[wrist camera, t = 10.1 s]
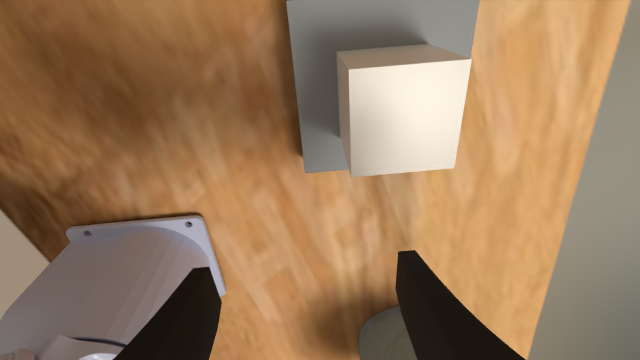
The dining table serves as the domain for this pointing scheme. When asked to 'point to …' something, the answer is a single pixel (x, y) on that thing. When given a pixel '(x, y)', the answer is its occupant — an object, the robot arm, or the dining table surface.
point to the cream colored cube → (401, 108)
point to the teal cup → (385, 337)
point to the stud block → (354, 34)
